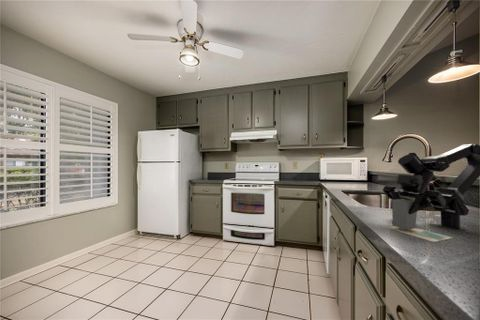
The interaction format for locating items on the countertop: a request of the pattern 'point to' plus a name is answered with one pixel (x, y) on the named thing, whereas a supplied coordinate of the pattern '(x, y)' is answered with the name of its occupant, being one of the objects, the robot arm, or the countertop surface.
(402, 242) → the countertop surface
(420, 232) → the stand board
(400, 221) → the tall gray pillar
